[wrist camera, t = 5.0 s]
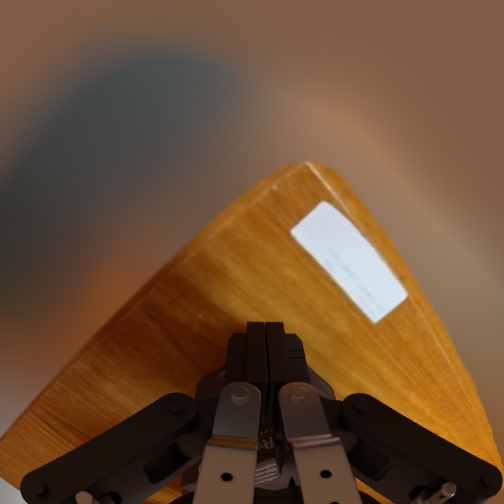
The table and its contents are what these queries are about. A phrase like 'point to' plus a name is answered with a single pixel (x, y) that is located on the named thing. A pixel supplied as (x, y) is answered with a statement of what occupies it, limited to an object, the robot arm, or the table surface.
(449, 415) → the table surface
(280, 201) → the table surface
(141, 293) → the table surface
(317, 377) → the box
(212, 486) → the robot arm
